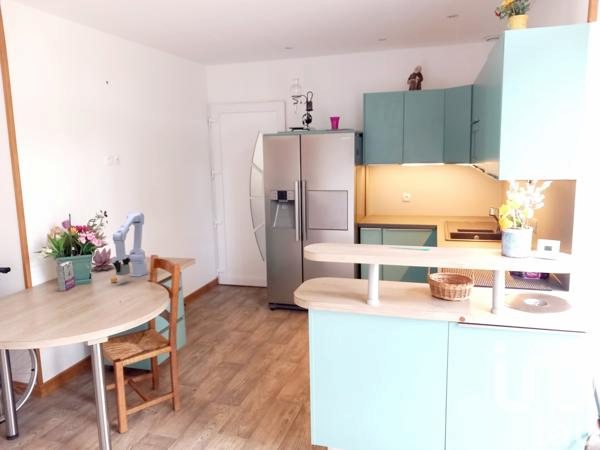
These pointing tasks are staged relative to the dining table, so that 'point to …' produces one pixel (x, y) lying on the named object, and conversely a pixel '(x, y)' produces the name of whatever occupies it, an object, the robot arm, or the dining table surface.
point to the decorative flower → (102, 260)
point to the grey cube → (124, 269)
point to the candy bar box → (65, 276)
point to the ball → (113, 279)
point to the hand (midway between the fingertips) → (122, 270)
